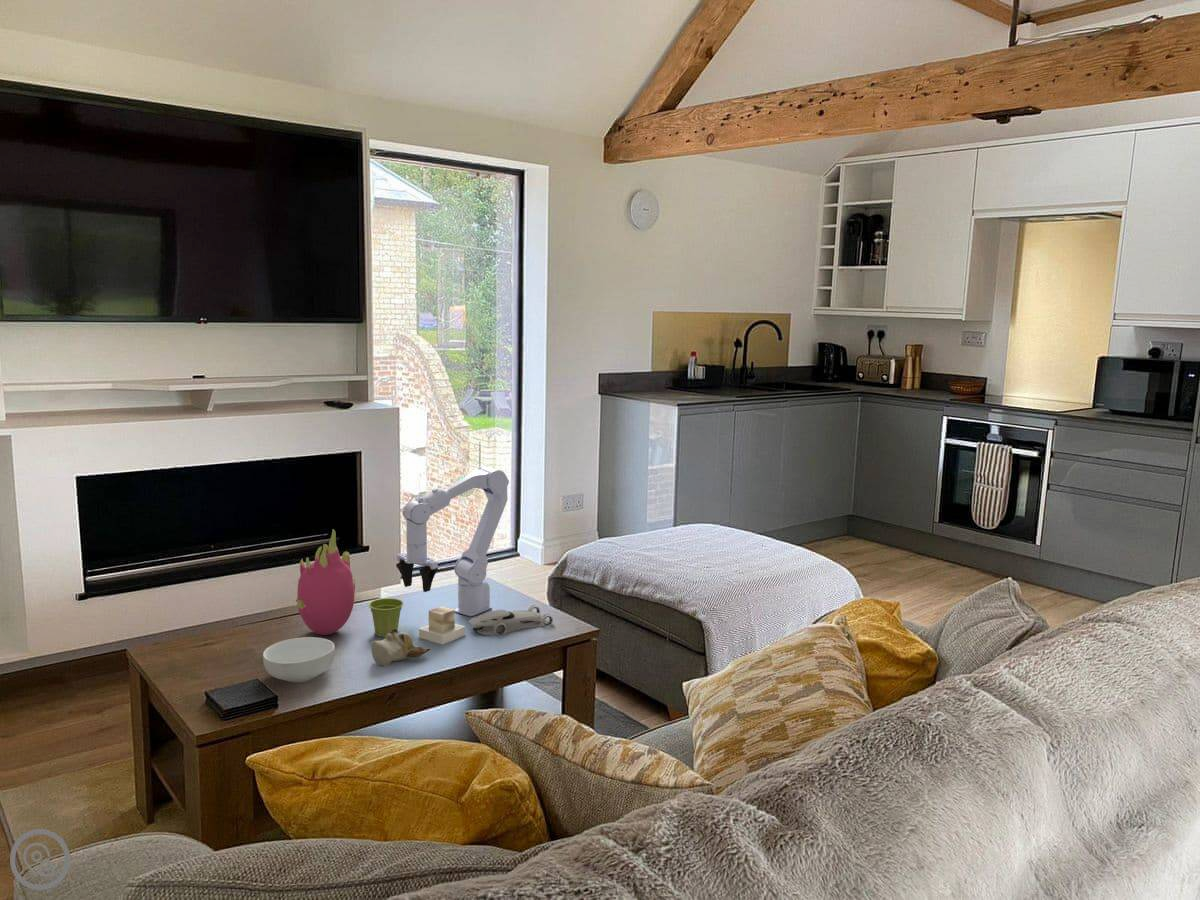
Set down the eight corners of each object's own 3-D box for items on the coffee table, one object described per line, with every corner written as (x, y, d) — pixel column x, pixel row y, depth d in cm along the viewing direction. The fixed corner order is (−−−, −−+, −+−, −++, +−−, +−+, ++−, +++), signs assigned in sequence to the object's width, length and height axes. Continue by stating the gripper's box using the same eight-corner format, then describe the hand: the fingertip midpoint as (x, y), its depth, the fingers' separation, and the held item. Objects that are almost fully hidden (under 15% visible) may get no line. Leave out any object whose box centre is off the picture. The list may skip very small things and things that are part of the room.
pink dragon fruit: (341, 619, 261) (338, 519, 256) (368, 631, 252) (366, 527, 248) (285, 635, 248) (281, 530, 243) (311, 648, 239) (308, 539, 234)
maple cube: (441, 623, 252) (441, 606, 252) (454, 627, 250) (454, 609, 249) (428, 628, 248) (428, 610, 248) (441, 632, 246) (441, 614, 245)
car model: (556, 626, 260) (556, 609, 259) (477, 640, 248) (477, 622, 248) (539, 614, 270) (539, 598, 269) (463, 627, 258) (463, 610, 257)
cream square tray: (441, 628, 256) (441, 619, 255) (465, 635, 251) (465, 626, 250) (418, 637, 248) (418, 628, 248) (442, 644, 243) (442, 635, 243)
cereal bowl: (297, 658, 232) (296, 632, 231) (349, 669, 226) (348, 642, 225) (248, 682, 217) (247, 655, 216) (303, 695, 210) (302, 666, 209)
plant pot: (408, 628, 255) (407, 598, 254) (397, 640, 246) (397, 609, 245) (376, 626, 256) (375, 597, 255) (364, 638, 247) (363, 608, 246)
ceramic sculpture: (360, 629, 229) (406, 618, 240) (358, 662, 230) (405, 649, 242) (386, 640, 222) (432, 628, 234) (384, 674, 223) (431, 660, 235)
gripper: (388, 541, 258) (389, 587, 260) (424, 550, 250) (425, 596, 252) (406, 536, 264) (407, 581, 266) (442, 544, 256) (443, 590, 258)
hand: (417, 588), depth 259 cm, fingers open, 7 cm apart
